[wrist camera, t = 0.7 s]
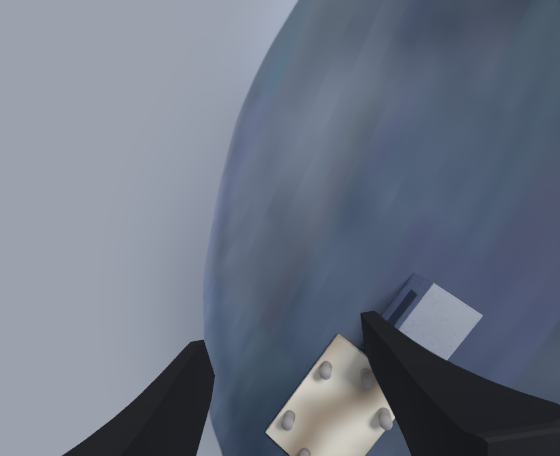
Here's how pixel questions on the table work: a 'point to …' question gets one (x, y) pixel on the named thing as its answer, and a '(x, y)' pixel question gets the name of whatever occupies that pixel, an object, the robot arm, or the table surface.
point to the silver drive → (431, 316)
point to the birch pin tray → (334, 407)
